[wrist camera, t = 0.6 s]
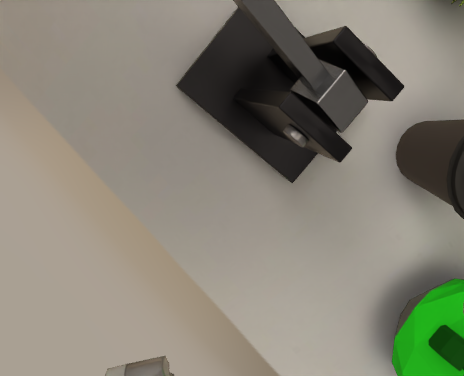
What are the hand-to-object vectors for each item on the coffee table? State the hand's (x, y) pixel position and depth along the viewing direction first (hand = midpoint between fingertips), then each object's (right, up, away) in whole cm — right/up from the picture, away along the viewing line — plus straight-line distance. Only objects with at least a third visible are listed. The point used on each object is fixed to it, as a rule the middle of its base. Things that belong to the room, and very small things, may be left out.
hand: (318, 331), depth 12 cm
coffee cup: (+14, +7, +27) cm, 31 cm away
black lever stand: (+1, +11, +23) cm, 26 cm away
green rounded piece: (+16, -9, +31) cm, 36 cm away
